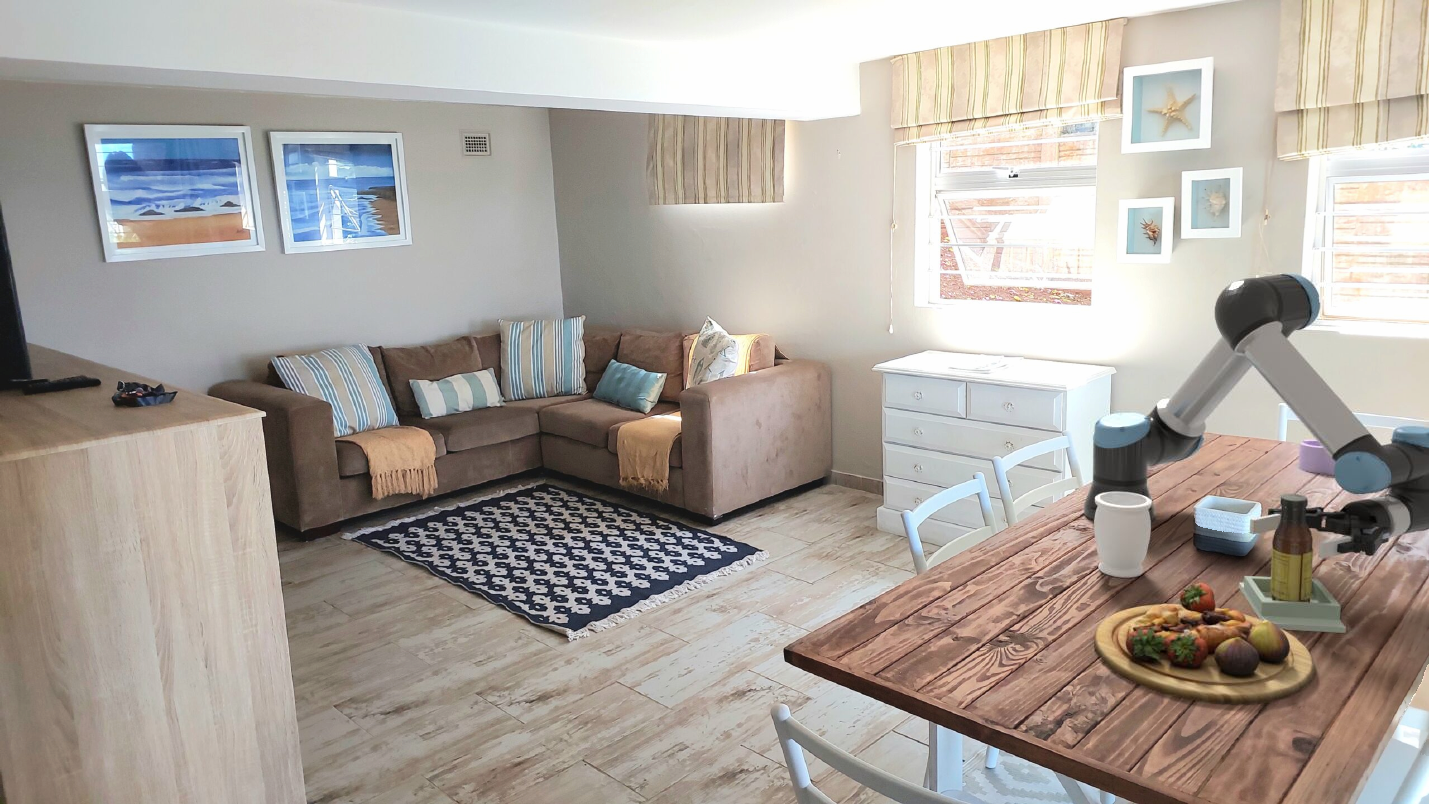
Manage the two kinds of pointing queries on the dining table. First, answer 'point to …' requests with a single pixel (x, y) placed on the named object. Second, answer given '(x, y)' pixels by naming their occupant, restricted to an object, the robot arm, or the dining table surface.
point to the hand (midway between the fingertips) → (1284, 538)
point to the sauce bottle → (1292, 552)
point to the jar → (1122, 532)
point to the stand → (1294, 607)
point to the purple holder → (1315, 458)
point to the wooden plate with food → (1204, 651)
